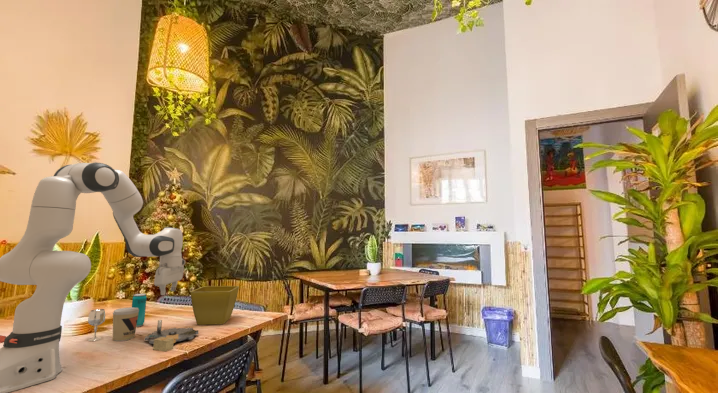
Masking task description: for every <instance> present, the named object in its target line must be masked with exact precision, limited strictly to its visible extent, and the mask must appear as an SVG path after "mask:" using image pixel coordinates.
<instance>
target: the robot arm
mask: <svg viewBox="0 0 718 393" xmlns="http://www.w3.org/2000/svg"><path fill="white" fill-rule="evenodd" d="M35 188H36V189H35V190H34V194H33V197H32V200H31V206H30V212H29V215H28V221H27V224H26V229H25V231H24V233H23V235H22V237H21V239H20V240H19V241H18V243H17V244H16V245H15V246H14V247H13V248H11V250H10V251H8V252H6V253H4V254H3V255H2V256H1V257H0V282H2V283H5V284H6V283H7V284H9V285H10V284H11V285H15V286H16V285H17V286H25V285H26V286H31V285H32V286H36V288H35V290H34V293H32V296H30V297H29V298H26V299H24V300H23V301H21V302H20V303H19V304H17V306H16V308H15V311H14V317H13V324H12V330H11V332H10V333H9V334H8V335H7V336H5V335H0V344H2V347H0V393H11V392H15V391H18V390H21V389H25V388H29V387H31V386H35V385H39V384H42V383H45V382H49V381H51V380H54V379H56V377H57V375H58V374H60V373H61V372H62V370H63V368H62V364H61V357H60V341H61V337H62V332H63V331H62V330H63V326H62V325H61V323H62V317H63V316H62V315H63V312H64V311H63V310H64V305H65V302H66V299H67V297H68V295H69V293H70V292H71V291H72V290H73V288H74V287H75V286H77V285H78V284H79V283H81V282H83V281H84V280H85V279H86V277H88V275H89V274H90V272H91V268H92V262H91V259H90V257H89V256H88V255H87V254H85V253H82V252H78V251H72V250H54V248H55V245H56V244H57V243H58V242H59V241H60V240H61V239H64V238H66V237H67V236H69V235H70V234H71V233H72V231H73V229H74V222H75V214H76V207H77V200H78V198H79V196H80V195H81V194H94V193H101V194H102V195H103V197H104V199H105V200H106V201H107V202H106V203H107V204H108V205H109V206H110V208H111V210H112V215H113V219H114V221H115V223H116V226H117V227H118V229H119V230H120V233H121V234H122V236H123V239H124V241H125V246H126V250H127V253H128V254H129V255H131V256H132V257H135V258H139V257H140V258H142V257H153V258H154V257H155V258H158V257H159V263H158V264H159V266H158V268H157V269H156V271H155V275H154V282H153V283H154V286H155V287H159V291H160V296H165V295H167V290H166V287H167V285H170V284H171V287H170V292H176V289H177V286H178V283H179V282H178V281H181V280H182V279H183V277H184V270H185V267H184V265H186V260H185V259H184V258H183V257H182V256H183V254H182V248H183V243H184V241H183V238H184V237H183V232H182V229H180V228H179V227H178V228H177V227H171V226H170V227H167V226H166V227H164V228H163V229H162V230H160V231H159V232H157V233H154V234H146V233H143V232H142V231H140V229H139V227H138V225H137V222H136V221H135V218H134V216H135V215H136V214H137V213H138V212H140V211H141V209H142V208H143V205H144V200H143V197H142V195H141V193H140V192H139V190H138V188H137V186H136V185H135V184H134V182H133V181H132V180H131V179H130V178H129V176H128V175H127V174H126V173H125V172H124V171H123V170H121V169H114V168H113V167H112V166H110V165H109V164H107V163H103V162H78V163H73V164H66V165H64V166H61V167H60V168H59V169H57V170H56V171H55V173H54V174H53V176H52V175H51V176H45V177H44V178H42V179H40V180H39V182H38V183H37V186H36V187H35Z"/></svg>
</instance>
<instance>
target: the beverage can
mask: <svg viewBox="0 0 718 393" xmlns="http://www.w3.org/2000/svg"><path fill="white" fill-rule="evenodd" d="M146 305H147V294H146V293H136V294H133V297H132V301H131V307H135V308H138V309H139V312H138V319H137V325H136V328H141V327H143V326H144V324H145V318H146V317H145V316H146V308H147V306H146Z"/></svg>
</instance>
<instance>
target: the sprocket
mask: <svg viewBox="0 0 718 393" xmlns="http://www.w3.org/2000/svg"><path fill="white" fill-rule="evenodd" d="M162 326H163V320H161V319H159V320H157V327H156V331H154V332H153V331H152V332H151V334H149V335H145V336H144V341H146V342H147V341H148V342H149V344H151V345H154V339H157V338H160V337H167V338H174V341H173V344H176V343H178V342H182V341H187V340H188V341H190V340H192V339H194V338H195V336H196V335H199V330H197V329H196V330H195V329H194V328H193V327H179V328H177V327H171V328H167V329H162Z"/></svg>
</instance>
